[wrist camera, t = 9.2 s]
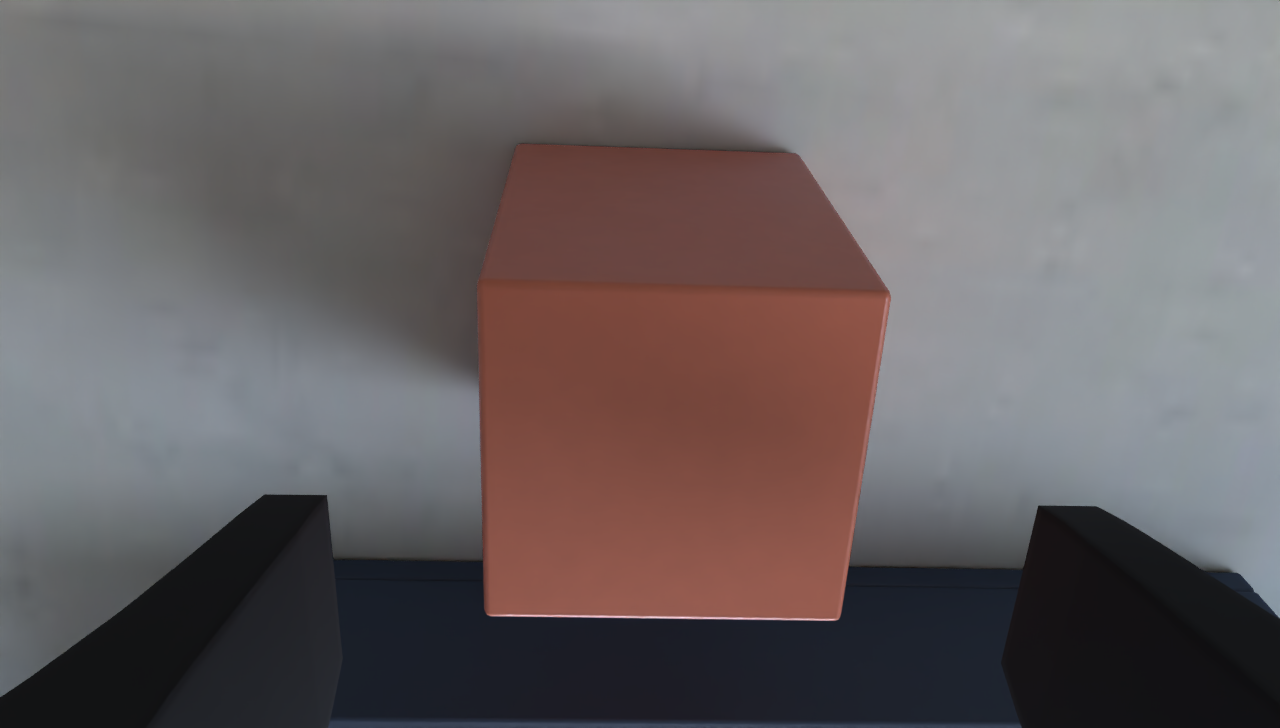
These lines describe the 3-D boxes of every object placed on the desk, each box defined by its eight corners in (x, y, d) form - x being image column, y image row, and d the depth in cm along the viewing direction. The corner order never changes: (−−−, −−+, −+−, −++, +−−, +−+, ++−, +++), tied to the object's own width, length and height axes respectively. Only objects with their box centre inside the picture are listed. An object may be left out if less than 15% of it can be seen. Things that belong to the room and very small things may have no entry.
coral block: (516, 397, 19) (482, 619, 13) (515, 141, 17) (475, 280, 11) (772, 402, 19) (841, 623, 13) (799, 151, 17) (894, 292, 12)
